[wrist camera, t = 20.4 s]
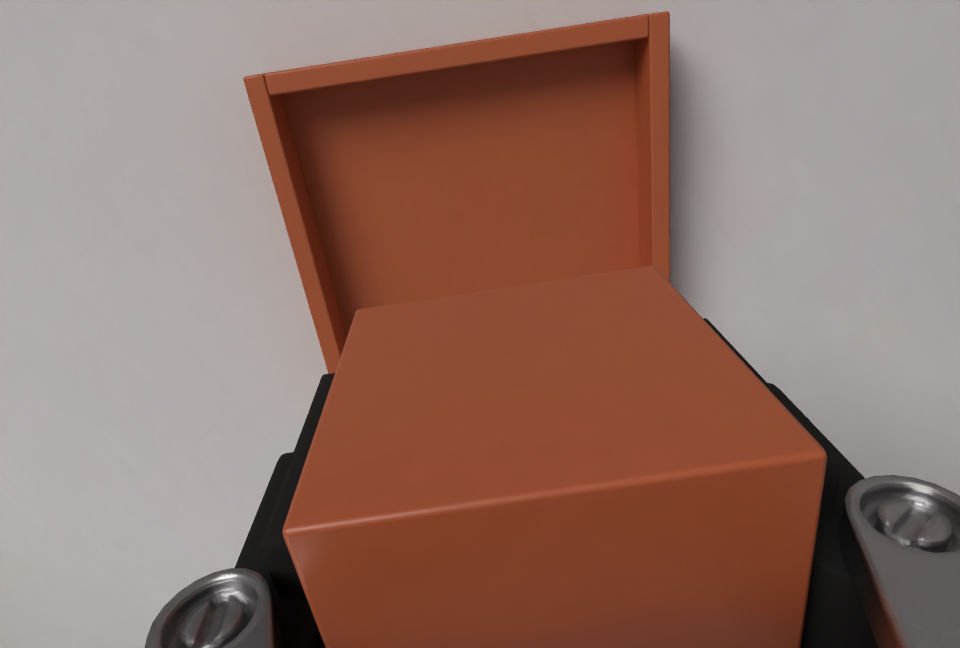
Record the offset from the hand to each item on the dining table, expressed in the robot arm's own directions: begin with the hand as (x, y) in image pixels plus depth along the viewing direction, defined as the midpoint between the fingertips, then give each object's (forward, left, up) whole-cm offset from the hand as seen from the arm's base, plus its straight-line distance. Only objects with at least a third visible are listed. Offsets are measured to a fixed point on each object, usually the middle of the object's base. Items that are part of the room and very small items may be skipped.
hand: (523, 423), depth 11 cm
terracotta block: (0, 0, 0) cm, 0 cm away
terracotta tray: (0, 0, -12) cm, 12 cm away
